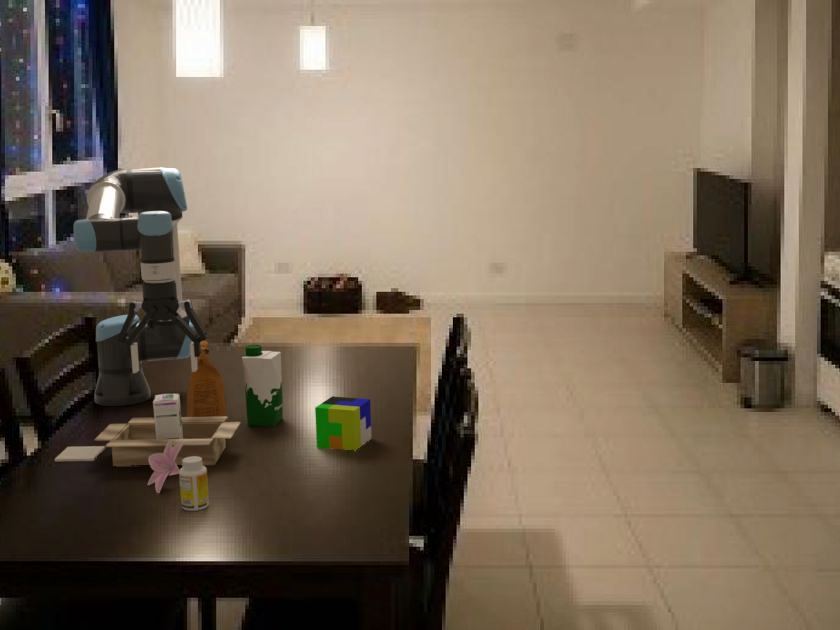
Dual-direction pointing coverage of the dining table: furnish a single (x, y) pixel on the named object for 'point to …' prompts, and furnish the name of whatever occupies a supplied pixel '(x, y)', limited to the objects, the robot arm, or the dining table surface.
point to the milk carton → (263, 386)
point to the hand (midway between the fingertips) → (165, 371)
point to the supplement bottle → (193, 484)
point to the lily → (164, 464)
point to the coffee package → (206, 389)
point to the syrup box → (167, 416)
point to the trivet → (80, 453)
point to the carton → (140, 440)
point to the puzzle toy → (343, 423)
